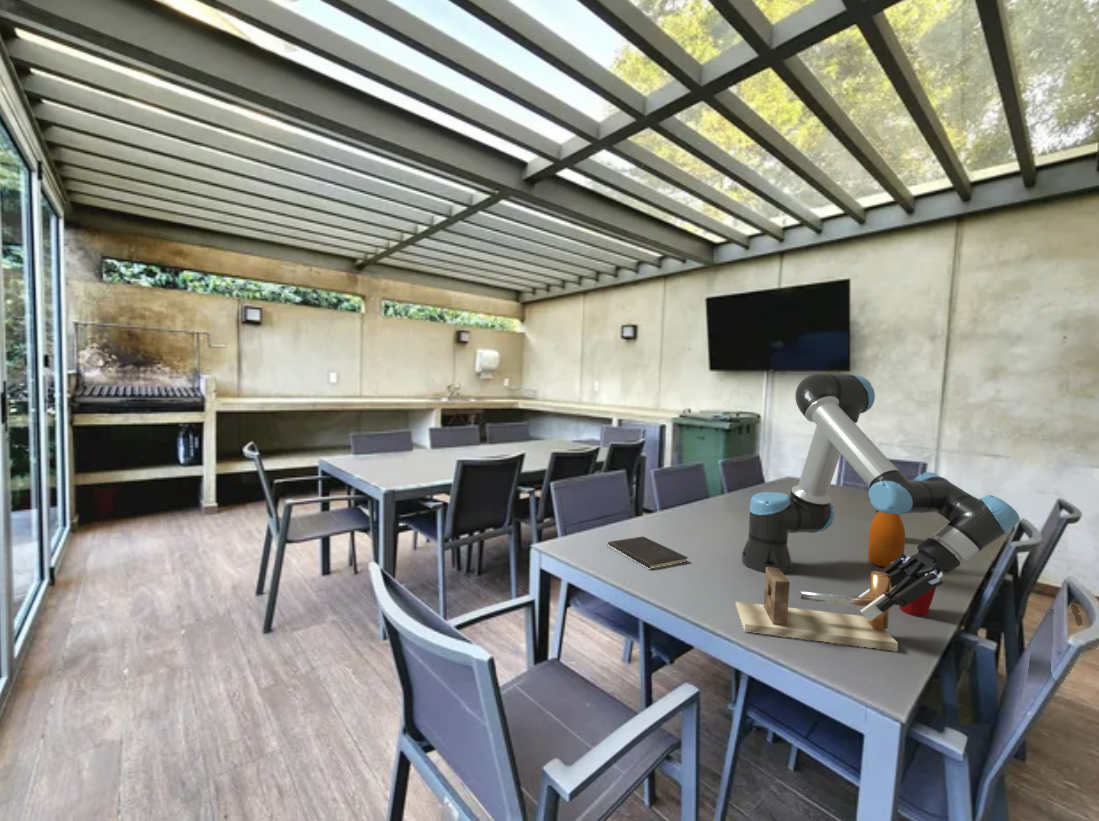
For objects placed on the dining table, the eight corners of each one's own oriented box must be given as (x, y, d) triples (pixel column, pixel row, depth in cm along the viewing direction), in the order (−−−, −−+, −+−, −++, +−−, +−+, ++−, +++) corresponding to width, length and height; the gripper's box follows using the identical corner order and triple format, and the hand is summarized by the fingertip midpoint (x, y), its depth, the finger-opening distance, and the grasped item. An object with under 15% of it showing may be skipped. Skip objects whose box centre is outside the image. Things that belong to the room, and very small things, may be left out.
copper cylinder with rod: (802, 619, 112) (805, 569, 111) (796, 611, 116) (799, 563, 115) (891, 629, 108) (895, 578, 107) (883, 621, 112) (886, 572, 111)
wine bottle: (888, 559, 163) (894, 474, 162) (910, 570, 153) (917, 479, 152) (860, 558, 163) (866, 473, 161) (881, 570, 153) (887, 479, 151)
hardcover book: (642, 542, 174) (643, 536, 174) (687, 564, 154) (687, 557, 154) (607, 548, 167) (607, 541, 167) (649, 571, 147) (649, 564, 147)
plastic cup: (883, 610, 124) (886, 566, 123) (891, 598, 132) (894, 556, 131) (936, 626, 116) (940, 579, 116) (941, 612, 124) (945, 568, 123)
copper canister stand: (744, 632, 111) (747, 580, 110) (735, 608, 122) (737, 561, 122) (897, 651, 104) (901, 596, 104) (871, 625, 116) (875, 575, 115)
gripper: (985, 577, 98) (890, 642, 102) (935, 549, 115) (856, 607, 119) (957, 549, 99) (865, 616, 103) (912, 526, 116) (834, 584, 120)
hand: (860, 611), depth 111 cm, fingers closed on copper cylinder with rod, 4 cm apart
